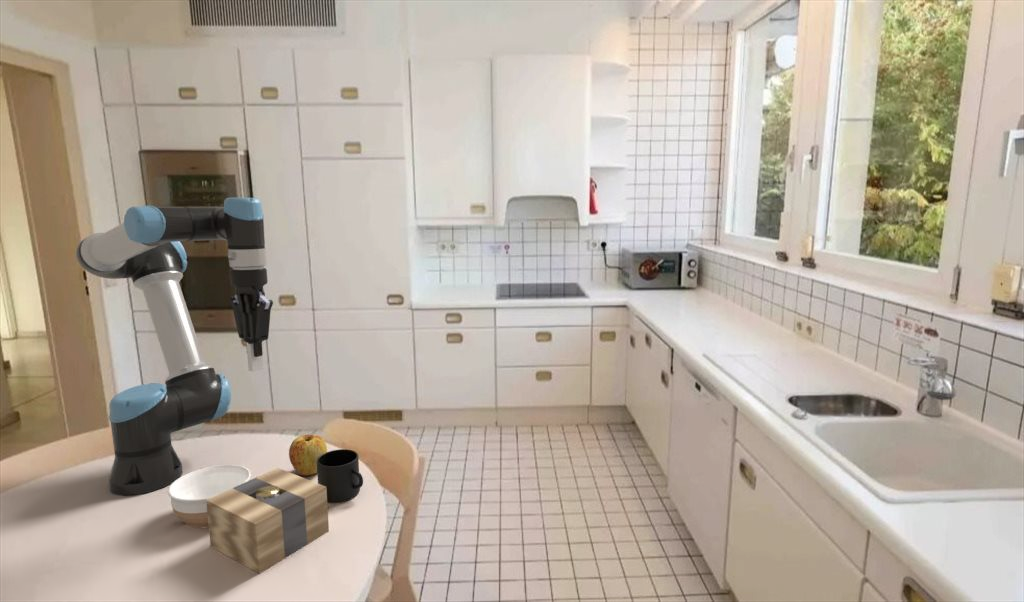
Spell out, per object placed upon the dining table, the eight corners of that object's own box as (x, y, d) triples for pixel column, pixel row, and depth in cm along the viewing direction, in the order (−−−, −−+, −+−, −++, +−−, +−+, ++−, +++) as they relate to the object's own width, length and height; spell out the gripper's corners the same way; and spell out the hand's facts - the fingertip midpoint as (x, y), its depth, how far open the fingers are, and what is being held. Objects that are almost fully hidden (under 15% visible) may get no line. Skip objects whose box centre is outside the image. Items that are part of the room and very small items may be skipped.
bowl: (269, 504, 124) (266, 472, 122) (204, 543, 109) (200, 507, 108) (221, 489, 130) (218, 459, 129) (154, 524, 116) (150, 489, 115)
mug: (349, 510, 122) (347, 472, 120) (309, 497, 127) (307, 461, 125) (376, 490, 130) (375, 455, 129) (338, 480, 135) (336, 446, 134)
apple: (314, 461, 145) (312, 425, 144) (335, 470, 140) (333, 434, 138) (283, 474, 138) (280, 437, 136) (304, 484, 133) (301, 446, 131)
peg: (254, 533, 110) (250, 492, 109) (273, 523, 114) (270, 483, 112) (267, 540, 108) (264, 498, 106) (286, 529, 111) (284, 489, 110)
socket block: (210, 546, 108) (206, 500, 107) (280, 509, 122) (277, 467, 120) (259, 573, 100) (255, 524, 99) (328, 530, 114) (326, 486, 112)
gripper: (214, 267, 121) (223, 369, 125) (250, 271, 114) (258, 378, 118) (246, 264, 127) (253, 361, 131) (281, 267, 120) (288, 369, 124)
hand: (255, 369), depth 124 cm, fingers closed
